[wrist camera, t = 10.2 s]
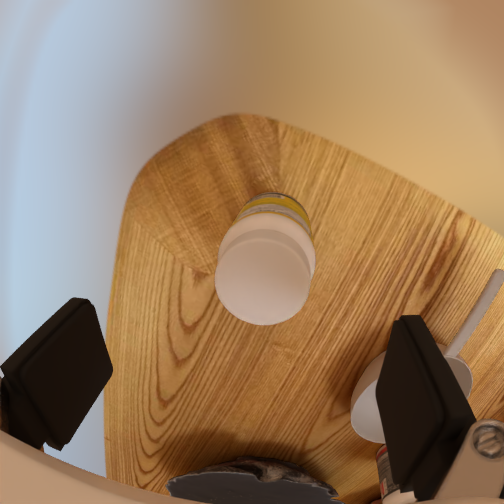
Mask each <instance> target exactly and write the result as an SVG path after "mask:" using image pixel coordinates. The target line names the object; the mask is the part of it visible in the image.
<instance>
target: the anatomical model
mask: <svg viewBox="0 0 504 504" xmlns="http://www.w3.org/2000/svg"><path fill="white" fill-rule="evenodd" d="M369 504H382V499H379V500H376V501H373V502H371V503H369Z"/></svg>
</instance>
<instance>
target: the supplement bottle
mask: <svg viewBox="0 0 504 504" xmlns="http://www.w3.org/2000/svg"><path fill="white" fill-rule="evenodd" d="M315 265H316V255H315V247H314V243H313V237H312V232H311V226H310V221H309V218H308V215H307V213H306V211H305V209H304V208H303V206H302V205H301V204H300V203H299V202H298V201H297V200H295V199H294V198H292V197H291V196H289V195H286V194H283V193H278V192H267V193H263V194H260V195H257V196H255V197H253V198H252V199H250V200H249V201H248V202H247V203H246V204H245V205H244V207H243V208H242V210H241V211H240V213H239V214H238V216H237V217H236V219H235V221H234V222H233V224H232V225H231V227H230V228H229V230H228V231H227V233H226V235H225V236H224V238H223V240H222V242H221V244H220V247H219V251H218V265H217V268H216V271H215V288H216V292H217V295H218V297H219V299H220V301H221V302H222V304H223V305H224V307H225V308H226V309H227V310H228V311H229V312H230V313H231V314H233V315H234V316H236V317H237V318H239V319H241V320H243V321H245V322H248V323H251V324H256V325H272V324H277V323H281V322H283V321H286V320H288V319H289V318H291V317H293V316H294V315H295V314H296V313H297V312H298V311H299V310H300V309H301V308H302V307H303V305H304V304H305V302H306V300H307V298H308V295H309V291H310V281H311V280H312V277H313V274H314V271H315Z"/></svg>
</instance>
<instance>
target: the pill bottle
mask: <svg viewBox="0 0 504 504" xmlns="http://www.w3.org/2000/svg"><path fill="white" fill-rule="evenodd" d="M376 462H377V467H378V474H379V482H380V489H381V497H382V504H408V503H415V501H416V498H415V497H414V491H412V492H406V493H400V489H399V485H395V484H394V483H393V480H392V474H391V468H390V463H389V458H388V452H387V447H386V444H385V445H384V446H382V447H381V448H380V449H379V451H378V452H377V455H376Z"/></svg>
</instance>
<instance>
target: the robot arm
mask: <svg viewBox="0 0 504 504" xmlns="http://www.w3.org/2000/svg"><path fill="white" fill-rule="evenodd" d="M0 368H1V370H2V372H3V374H4V377H3V378H1V377H0V504H209V503H202V502H197V501H191V500H186V499H181V498H176V497H172V496H167V495H163V494H159V493H155V492H151V491H147V490H144V489H140V488H136V487H133V486H130V485H126V484H123V483H120V482H117V481H114V480H111V479H108V478H105V477H102V476H99V475H96V474H94V473H91V472H88V471H86V470H83V469H80V468H78V467H75V466H73V465H70V464H68V463H66V462H63V461H61V460H59V459H56V458H54V457H52V456H50V455H48V454H46V453H44V448H43V444H44V443H45V442H46V443H47V444H48V446H50V447H52V448H54V449H56V450H59V451H61V450H62V448H63V447H64V445H65V444H68V443H69V442H70V440H71V439H72V437H73V435H74V434H75V432H76V430H77V429H78V427H79V426H80V424H81V423H82V421H83V419H84V418H85V416H86V415H87V413H88V411H89V410H90V408H91V407H92V405H93V404H94V402H95V401H96V399H97V397H98V396H99V394H100V393H101V391H102V390H103V388H104V387H105V385H106V384H107V382H108V380H109V379H110V377H111V376H112V373H113V366H112V363H111V360H110V357H109V354H108V351H107V348H106V345H105V341H104V338H103V335H102V332H101V328H100V325H99V321H98V318H97V314H96V310H95V307H94V305H92V304H91V302H90V301H89V300H88V299H83V298H71V299H70V300H69V301H68V302H67V303H66V304H64V305H63V306H62V307H61V308H60V309H59V310H58V311H57V312H56V313H55V314H54V315H52V316H51V318H49V319H48V320H47V321H46V322H45V323H44V324H43V325H42V326H41V327H40V328H39V329H38V330H37V331H35V332H34V333H33V334H32V335H31V336H30V337H29V338H28V339H27V340H26V341H25V342H24V343H23V344H22V345H21V346H20V347H19V348H18V349H17V350H16V351H15V352H14V353H13V354H12V355H11V356H10V357H9V358H8V359H7V360H6V361H5V362H4V363H3V364H2V365H1V366H0ZM375 397H376V401H377V406H378V410H379V414H380V419H381V423H382V428H383V433H384V438H385V442H386V447H387V452H388V458H389V463H390V468H391V474H392V480H393V483H394V484H395V485H399V489H400V493H406V492H412V491H414V497H415V498H416V501H415V503H408V504H504V423H503V422H501V421H499V420H495V419H491V418H490V419H482V420H479V421H477V420H476V418H475V416H474V414H473V412H472V410H471V407H470V405H469V403H468V401H467V399H466V397H465V395H464V393H463V391H462V389H461V387H460V385H459V383H458V381H457V379H456V377H455V375H454V373H453V371H452V369H451V367H450V366H449V364H448V362H447V360H446V359H445V358H444V356H443V354H442V353H441V351H440V349H439V347H438V345H437V344H436V342H435V340H434V338H433V336H432V335H431V333H430V331H429V329H428V328H427V326H426V324H425V322H424V321H423V319H422V317H421V316H420V315H402V316H401V317H400V318H399V320H395V321H394V323H393V327H392V331H391V335H390V339H389V342H388V346H387V350H386V354H385V357H384V361H383V364H382V368H381V371H380V375H379V378H378V381H377V384H376V389H375Z"/></svg>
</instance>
